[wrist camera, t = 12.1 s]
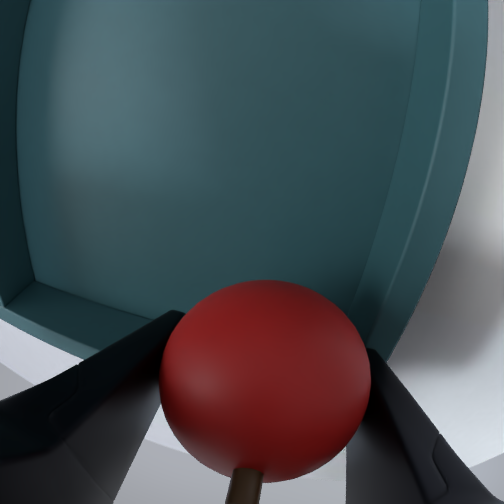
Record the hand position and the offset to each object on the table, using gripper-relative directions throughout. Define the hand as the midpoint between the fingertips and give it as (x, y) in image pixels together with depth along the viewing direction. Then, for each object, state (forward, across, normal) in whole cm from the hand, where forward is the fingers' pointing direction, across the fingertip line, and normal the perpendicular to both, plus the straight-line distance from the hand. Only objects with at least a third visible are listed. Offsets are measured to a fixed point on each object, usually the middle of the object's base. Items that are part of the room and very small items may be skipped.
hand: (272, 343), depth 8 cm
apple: (+1, 0, 0) cm, 1 cm away
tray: (+3, +4, -18) cm, 18 cm away
